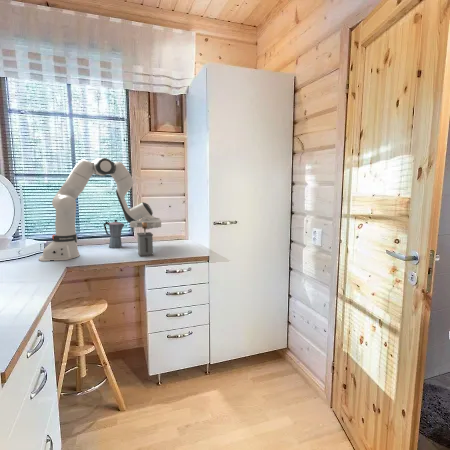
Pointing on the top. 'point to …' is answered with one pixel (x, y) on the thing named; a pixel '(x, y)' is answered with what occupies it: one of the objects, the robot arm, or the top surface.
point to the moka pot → (114, 233)
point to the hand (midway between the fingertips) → (144, 225)
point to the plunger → (144, 226)
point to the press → (145, 244)
